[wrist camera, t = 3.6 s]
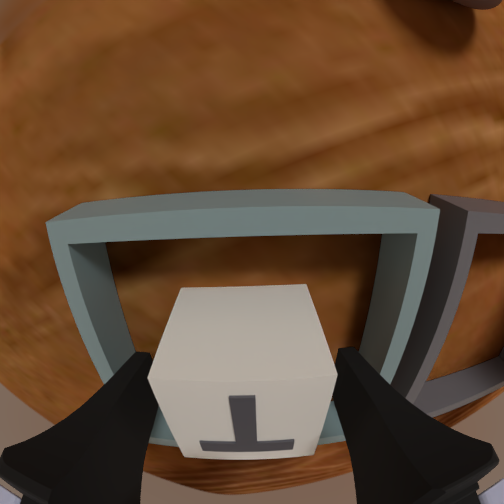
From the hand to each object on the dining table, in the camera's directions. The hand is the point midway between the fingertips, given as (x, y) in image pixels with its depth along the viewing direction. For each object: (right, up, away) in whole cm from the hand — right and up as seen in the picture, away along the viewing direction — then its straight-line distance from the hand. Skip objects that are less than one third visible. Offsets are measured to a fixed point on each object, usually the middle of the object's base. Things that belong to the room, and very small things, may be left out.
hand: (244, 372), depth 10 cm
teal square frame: (0, +1, +2) cm, 2 cm away
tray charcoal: (+14, +1, +2) cm, 14 cm away
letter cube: (0, +1, +2) cm, 2 cm away
